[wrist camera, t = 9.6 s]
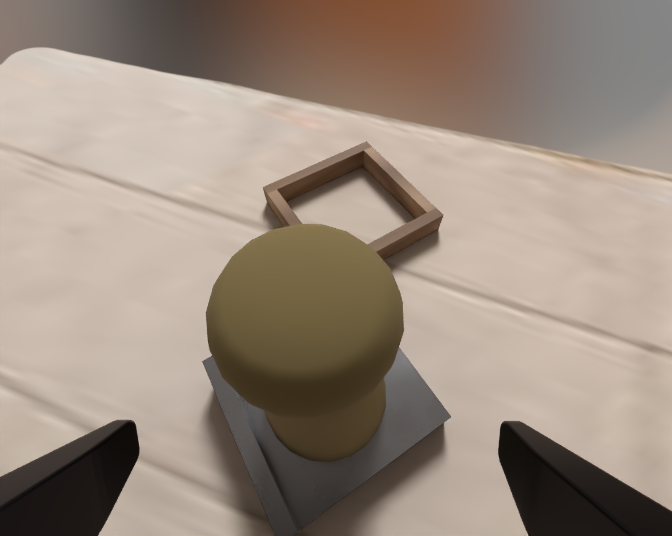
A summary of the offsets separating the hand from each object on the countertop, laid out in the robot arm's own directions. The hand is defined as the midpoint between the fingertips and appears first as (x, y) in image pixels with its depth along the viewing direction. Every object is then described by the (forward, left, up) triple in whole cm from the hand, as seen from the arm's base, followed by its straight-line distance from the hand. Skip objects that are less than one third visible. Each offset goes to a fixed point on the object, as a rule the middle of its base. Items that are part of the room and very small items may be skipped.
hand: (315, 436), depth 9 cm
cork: (+3, -1, -9) cm, 9 cm away
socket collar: (+13, -9, -10) cm, 19 cm away
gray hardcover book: (+3, -1, -10) cm, 11 cm away
